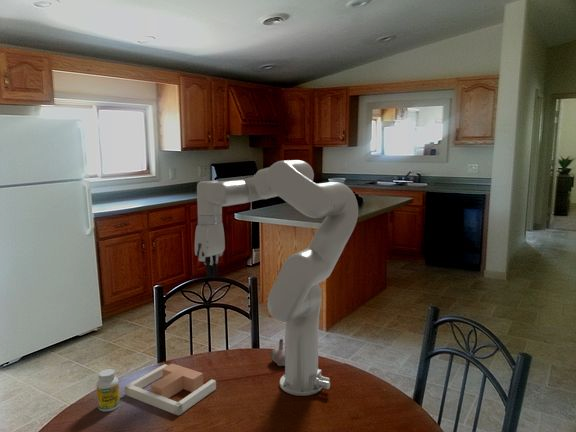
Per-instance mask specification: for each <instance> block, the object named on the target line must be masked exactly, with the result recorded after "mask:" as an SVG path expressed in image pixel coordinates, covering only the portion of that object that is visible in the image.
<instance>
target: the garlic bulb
mask: <svg viewBox="0 0 576 432" xmlns="http://www.w3.org/2000/svg"><path fill="white" fill-rule="evenodd" d="M278 346H279V347H275V348H274V349H272V350H271V352H270V359H271V360H272V362H274V363H276V365H277V366H279V367H283V366H284V367H285V347H284V339H283V338H280V339H279V343H278Z"/></svg>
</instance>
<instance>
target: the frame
mask: <svg viewBox="0 0 576 432" xmlns="http://www.w3.org/2000/svg"><path fill="white" fill-rule="evenodd" d="M167 366H169V364H167V363H166V364H165V363H164V364H162V365H161V366H159V367H157V368H155V369H153V370H152V371H149V372H148V373H146V374H144V375H142V376H141V377H139V378H137V379H135V380H134V381H131V382H130V383H128V384H126V385H124V395H125V396H127V397H130V398H132V399H135V400H138V401H140V402H143V403H145V404H148V405H151V406H153V407H155V408H158V409H161V410H163V411H165V412H168V413H171V414H174V415H176V416H179V417H180V415H182V414H183V413H184V412H186V411H188V409H190V408H191V407H193V406H195V405H196V404H197V403H198V402H200V401H201V400H203V399H204V398H205V397H207V396H208V395H210V394H211V393H213V392H214V391H215V390H217V380H215V379H210V380H208V381H207V382H206V383H203V386H201V387H200V388H198V389H197V390H195V391H194V392H191V393H189V394H188V395H186V396H185V397H184V398H183V397H182V399H181V400H178V401H176V400H173V399H171V398H165V397H163V396H160V395H157V394H155V393H152V392H151V391H149V390H148V389H147V390H146V389H144V388H145V387H147V386H149V385H151V384H153V383H155V382H157V381H158V380H160V379H162V378H163V371H162V369H163V368H165V367H167Z"/></svg>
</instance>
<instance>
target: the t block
mask: <svg viewBox="0 0 576 432" xmlns="http://www.w3.org/2000/svg"><path fill="white" fill-rule="evenodd" d="M162 371H163V376H162V377H161V378H159V379H157V380H156V381H154V382H152V383H150V390H151V391H150V392H152V393H155V394H157V395H160V396H163V397H165V398H168V399H171V397H173V396H175V395H176V394H178V393H180V392H182V390H186V391H188V392H191V393H192V392H194V391H195V390H197V389H198V388H200V387H201V386H203V385H204V373H203V372H200V371H197V370H194V369H191V368H189V367H188V368H187V367H185V366H181V365H178V364H175V363H171V364H168V366H167V367H165V368H163V369H162Z"/></svg>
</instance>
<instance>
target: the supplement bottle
mask: <svg viewBox="0 0 576 432" xmlns="http://www.w3.org/2000/svg"><path fill="white" fill-rule="evenodd" d="M119 382H120V381H119V379H118V377H116V371H115V369H113V368H112V369H111V368H108V369H107V368H106V369H103V370H101V371H99V373H98V381H97V382H96V396H97V397H96V398H97V408H98V410H99V411H101V412H111V411H115V410H116V409H117V408H119V406H120V404H121V401H120V397H121V396H120V386H119V385H120V384H119Z"/></svg>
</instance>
